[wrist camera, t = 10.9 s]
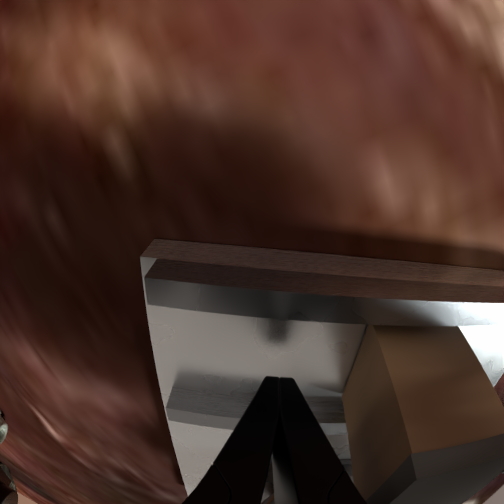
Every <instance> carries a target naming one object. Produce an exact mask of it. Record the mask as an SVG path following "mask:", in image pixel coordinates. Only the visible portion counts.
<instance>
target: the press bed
mask: <svg viewBox="0 0 504 504" xmlns="http://www.w3.org/2000/svg"><path fill="white" fill-rule="evenodd" d="M140 262H141V271H142V280H143V288H144V296H145V303H146V310H147V317H148V324H149V330H150V337H151V343H152V348H153V354H154V360H155V365H156V370H157V375H158V381H159V385H160V390H161V395H162V400H163V404H164V409H165V413H166V417H167V422H168V426H169V430H170V434H171V438H172V442H173V446H174V449H175V453H176V457H177V460H178V464H179V467H180V471H181V474H182V478H183V481H184V484H185V488H186V491H187V494H188V496H189V495H190V494H191V492H192V491H193V490H194V489H195V488H196V486H197V485H198V484H199V482H200V481H201V479H202V478H203V477H204V475H205V474H206V472H207V471H208V469H209V468H210V466H211V465H213V462H214V460H215V459H216V457H217V456H218V454H219V452H220V451H221V449H222V448H223V446H224V444H225V443H226V441H227V440H228V438H229V436H230V435H231V433H232V432H233V430H234V428H235V427H236V425H237V423H238V422H239V420H240V418H241V417H242V415H243V413H244V412H245V410H246V408H247V407H248V405H249V403H250V402H251V400H252V398H253V396H254V395H255V393H256V391H257V390H258V388H259V386H260V384H261V383H262V381H263V379H264V378H265V377H266V376H276V377H279V378H280V377H291V378H293V379H294V380H295V381H296V383H297V385H298V387H299V389H300V390H301V392H302V394H303V396H304V398H305V399H306V401H307V403H308V405H309V407H310V408H311V410H312V412H313V414H314V415H315V417H316V419H317V421H318V423H319V424H320V426H321V428H322V430H323V431H324V433H325V435H326V437H327V438H328V440H329V442H330V444H331V445H332V447H333V449H334V451H335V452H336V454H337V456H338V458H339V459H340V461H341V463H342V465H343V466H344V468H345V469H344V471H347V473H348V475H349V476H350V478H351V480H352V482H353V474H352V465H351V457H350V449H349V442H348V434H347V427H346V420H345V414H344V407H343V401H342V394H343V392H344V389H345V387H346V384H347V382H348V379H349V377H350V374H351V371H352V369H353V366H354V363H355V361H356V358H357V355H358V353H359V350H360V347H361V344H362V341H363V338H364V336H365V333H366V330H367V327H368V325H395V326H458V327H459V328H460V330H461V332H462V333H463V335H464V336H465V338H466V340H467V341H468V343H469V345H470V346H471V348H472V350H473V351H474V353H475V355H476V356H477V358H478V360H479V362H480V363H481V365H482V367H483V369H484V371H485V372H486V374H487V376H488V378H489V380H490V381H491V383H492V385H493V387H494V386H495V385H496V383H497V382H498V380H499V379H500V377H501V376H502V374H503V373H504V271H502V270H492V269H482V268H471V267H461V266H451V265H440V264H430V263H419V262H409V261H398V260H387V259H377V258H366V257H355V256H344V255H333V254H322V253H311V252H300V251H289V250H278V249H267V248H256V247H245V246H233V245H222V244H210V243H199V242H187V241H176V240H164V239H154V240H153V241H152V242H151V244H150V245H149V246H148V247H147V249H146V250H145V251H144V252H143V254H142V255H141V256H140ZM353 483H354V482H353ZM273 493H274V483H273V466H272V457H271V461H270V466H269V470H268V475H267V479H266V483H265V488H264V492H263V496H262V500H261V503H262V502H263V501H264V500H265V499H267V498H268V497H269V496H270V495H272V494H273Z"/></svg>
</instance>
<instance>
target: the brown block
mask: <svg viewBox="0 0 504 504" xmlns="http://www.w3.org/2000/svg"><path fill="white" fill-rule="evenodd" d="M342 401H343V407H344V414H345V420H346V427H347V434H348V442H349V449H350V457H351V465H352V474H353V482H354V485H355V486H356V488H357V489H358V491H359V493H360V494H361V496H362V497H363V498H364V500H365V501H366V502H367V504H462V503H463V502H465V501H466V500H468V499H469V498H470V497H472V496H473V495H474V494H476V493H477V492H478V491H479V490H481V489H482V488H483V487H484V486H486V485H487V484H488V483H489V482H491V481H492V480H493V479H494V478H495V477H497V476H498V475H499V474H500V473H501V472H502V471H503V470H504V407H503V405H502V403H501V401H500V399H499V397H498V395H497V393H496V391H495V389H494V387H493V385H492V383H491V381H490V380H489V378H488V376H487V374H486V372H485V371H484V369H483V367H482V365H481V363H480V362H479V360H478V358H477V356H476V355H475V353H474V351H473V350H472V348H471V346H470V345H469V343H468V341H467V340H466V338H465V336H464V335H463V333H462V332H461V330H460V328H459V327H458V326H395V325H368V327H367V330H366V333H365V336H364V338H363V341H362V344H361V347H360V350H359V353H358V355H357V358H356V361H355V363H354V366H353V369H352V371H351V374H350V377H349V379H348V382H347V384H346V387H345V389H344V392H343V394H342Z"/></svg>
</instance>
